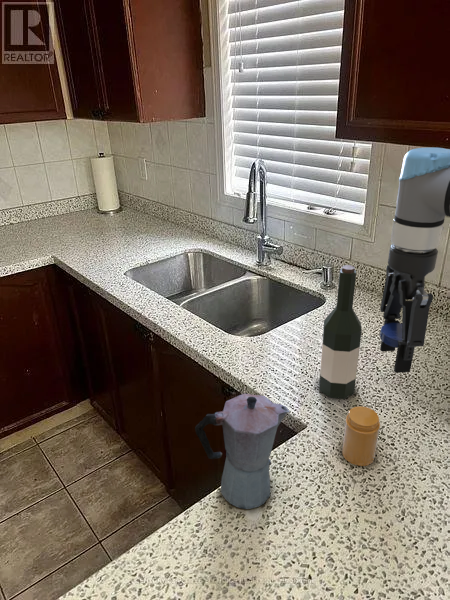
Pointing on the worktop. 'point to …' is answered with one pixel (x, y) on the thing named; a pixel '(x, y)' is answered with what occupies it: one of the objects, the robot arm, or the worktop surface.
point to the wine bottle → (341, 341)
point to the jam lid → (391, 334)
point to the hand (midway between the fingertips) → (394, 360)
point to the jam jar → (360, 436)
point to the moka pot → (245, 447)
